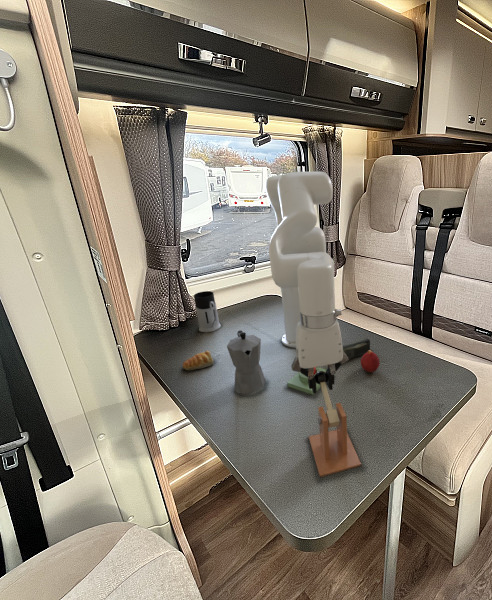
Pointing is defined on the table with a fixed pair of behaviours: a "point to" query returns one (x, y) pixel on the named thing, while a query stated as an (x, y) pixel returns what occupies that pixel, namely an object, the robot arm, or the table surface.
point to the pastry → (198, 361)
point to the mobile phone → (356, 348)
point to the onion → (370, 361)
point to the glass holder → (206, 311)
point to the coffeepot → (246, 363)
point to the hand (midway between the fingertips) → (321, 387)
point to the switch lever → (327, 399)
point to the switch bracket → (333, 445)
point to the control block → (303, 382)
